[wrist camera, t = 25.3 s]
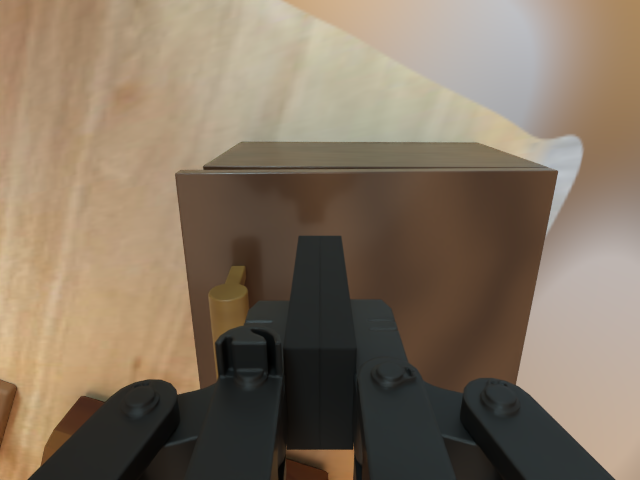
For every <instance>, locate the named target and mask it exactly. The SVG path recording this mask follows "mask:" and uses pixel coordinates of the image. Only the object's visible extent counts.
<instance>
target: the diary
mask: <svg viewBox="0 0 640 480" xmlns="http://www.w3.org/2000/svg"><path fill="white" fill-rule="evenodd" d="M104 403H105V402H102V401H99V400H96V399H93V398H89V397H86V396H81V397H80V398H79V399H78V401H77V402H76V403H75V404H74V406H73V407H72V408H71V409H70V410H69V412H68V413H67V414H66V415H65V417H64V418H63V419H62V420H61V422H60V423H59V424H58V425H57V427H56V428H55V429H54V430H53V432H52V434H51V436H50V438H49V440H48V442H47V443H46V445H45V448H44V453H43V457H42V462H41V466H42V465H43V464H44V463H45V462H46V461H47V460H48V459H49V458H50V457H51V456H52V455H53V454H54V453H55V452H56V451H57V450H58V449H59V448H60V447H61V446H62V445H63V444H64V443H65V442H66V441H67V440H68V439H69V438H70V437H71V436H72V435H73V434H74V433H75V432H76V431H77V430H78V429H79V428H80V427H81V426H82V425H83V424H84V423H85V422H86V421H87V420H88V419H89V418H90V417H91V416H92V415H93V414H94V413H95V412H96V411H97V410H98V409H99V408H100V407H101V406H102V405H103V404H104ZM286 480H328V473H327V472H326V471H324V470H321V469H317V468H314V467H311V466H308V465H305V464H301V463H298V462H295V461H292V460H288V459H286Z"/></svg>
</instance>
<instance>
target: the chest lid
mask: <svg viewBox="0 0 640 480" xmlns="http://www.w3.org/2000/svg"><path fill="white" fill-rule="evenodd" d="M557 175H558V171H557V170H554V169H551V168H434V169H279V170H180V171H178V172H177V173H175V177H176V186H177V194H178V203H179V211H180V220H181V228H182V237H183V245H184V254H185V262H186V271H187V279H188V288H189V296H190V305H191V313H192V322H193V330H194V339H195V347H196V356H197V364H198V373H199V381H200V389H203V388H206V387H208V386H210V385H212V384H214V383H216V382H217V379H218V369H217V359H216V350H215V342H216V340H217V339H218V338H219V336H220V335H222V334H223V333H225V332H226V331H228V330H230V329H233V328H236V327H239V326H244V323H245V320H246V316H247V313H248V310H249V309H250V308H251V307H252V306H253V305H254V304H256V303H257V302H258V301H290V294H291V287H292V280H293V273H294V265H295V258H296V251H297V244H298V237H299V236H341V237H342V244H343V251H344V258H345V265H346V273H347V280H348V287H349V294H350V299H382V300H383V301H384V302H385V303H386V304H387V305H388V306H389V307H390V308H391V309H392V312H393V315H394V318H395V322H396V324H397V327H398V331H399V334H400V337H401V340H402V343H403V346H404V350H405V353H406V356H407V359H408V362H409V363H410V364H411V365H413V366H414V367H415V368H417V370H418V371H419V373H420V375H421V376H422V379H423V380H424V381H425V382H427V383H429V384H431V385H433V386H436V387H440V388H443V389H447V390H451V391H456V392H460V393H463V391H464V388H465V386H466V385H467V384H468V383H469V382H470V381H473V380H475V379H478V378H495V379H500V380H505V381H507V382H509V383H512V384H514V385H516V381H517V376H518V371H519V366H520V360H521V355H522V350H523V345H524V340H525V335H526V330H527V325H528V320H529V315H530V310H531V305H532V300H533V295H534V290H535V285H536V280H537V275H538V270H539V265H540V260H541V255H542V250H543V245H544V240H545V235H546V230H547V225H548V220H549V215H550V210H551V205H552V200H553V195H554V190H555V185H556V180H557Z"/></svg>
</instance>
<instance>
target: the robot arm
mask: <svg viewBox="0 0 640 480" xmlns="http://www.w3.org/2000/svg"><path fill="white" fill-rule="evenodd" d="M215 350H216V359H217V369H218V379H217V382H216V383H214V384H212V385H210V386H208V387H206V388H203V389H199V390H196V391H192V392H187V393H183V394H179V395H177V391H176V389H175V388H174V387H173V386H172V384H171V383H168V382H166V381H163V380H144V381H139V382H135V383H133V384H130V385H128V386H126V387H124V388H122V389H120V390H119V391H118V392H116V393H115V394H114V395H112V396H111V397H110V398H109V399H108V400H107V401H106V402H105V403H104V404H103V405H102V406H101V407H100V408H99V409H98V410H97V411H96V412H95V413H94V414H93V415H92V416H91V417H90V418H89V419H88V420H87V421H86V422H85V423H84V424H83V425H82V426H81V427H80V428H79V429H78V430H77V431H76V432H75V433H74V434H73V435H72V436H71V437H70V438H69V439H68V440H67V441H66V442H65V443H64V444H63V445H62V446H61V447H60V448H59V449H58V450H57V451H56V452H55V453H54V454H53V455H52V456H51V457H50V458H49V459H48V460H47V461H46V462H45V463H44V464H43V465H42V466H41V467H40V468H39V469H38V470H37V471H36V472H35V473H34V474H33V475H32V476H31V477H30V478H29V479H28V480H286V444H287V450H353V442H354V475H353V480H615V479H614V478H613V477H612V476H611V475H610V474H609V473H608V472H607V471H606V470H605V469H604V468H603V467H602V466H601V465H600V464H599V463H598V462H597V461H596V460H595V459H594V458H593V457H592V456H591V455H590V454H589V453H588V452H587V451H586V450H585V449H584V448H583V447H582V446H581V445H580V444H579V443H578V442H577V441H576V440H575V439H574V438H573V437H572V436H571V435H570V434H569V433H568V432H567V431H566V430H565V429H564V428H563V427H562V426H561V425H560V424H559V423H558V422H557V421H555V419H553V418H552V417H551V416H550V415H549V414H548V413H547V412H546V411H545V410H544V409H543V408H542V407H541V406H540V405H539V404H538V403H537V402H536V401H535V400H534V399H533V398H532V397H531V396H530V395H529V394H528V393H526V392H525V391H524V390H522V389H521V388H520V387H518V386H516V385H514V384H512V383H509V382H507V381H505V380H500V379H495V378H478V379H475V380H473V381H470V382H469V383H468V384H467V385H466V386H465V388H464V391H463V393H460V392H456V391H451V390H447V389H443V388H440V387H436V386H433V385H431V384H429V383H427V382H425V381H424V380H423V379H422V376H421V375H420V373H419V371H418V370H417V368H415V367H414V366H413V365H411V364H410V363H409V362H408V359H407V356H406V353H405V350H404V346H403V343H402V340H401V337H400V334H399V331H398V327H397V324H396V322H395V318H394V315H393V312H392V309H391V308H390V307H389V306H388V305H387V304H386V303H385V302H384V301H383V300H382V299H350V294H349V287H348V280H347V273H346V265H345V258H344V251H343V244H342V237H341V236H299V237H298V244H297V251H296V258H295V265H294V273H293V280H292V287H291V294H290V301H258V302H257V303H256V304H254V305H253V306H252V307H251V308H250V309H249V310H248V313H247V316H246V320H245V323H244V326H239V327H236V328H233V329H230V330H228V331H226V332H225V333H223V334H222V335H220V336H219V338H218V339H217V340H216V342H215Z"/></svg>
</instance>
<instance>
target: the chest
mask: <svg viewBox="0 0 640 480" xmlns="http://www.w3.org/2000/svg"><path fill="white" fill-rule="evenodd" d="M434 168H548V167H546V166H543V165H540V164H537V163H534V162H531V161H529V160H526V159H523V158H520V157H517V156H514V155H511V154H508V153H506V152H503V151H500V150H497V149H494V148H491V147H488V146H486V145H483V144H479V143H432V142H241V143H239V144H237V145H236V146H234V147H233V148H231V149H229V150H228V151H226V152H225V153H223V154H222V155H220V156H219V157H217V158H215V159H214V160H212V161H211V162H209V163H208V164H206V165H205V166H203V169H204V170H279V169H434Z"/></svg>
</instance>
